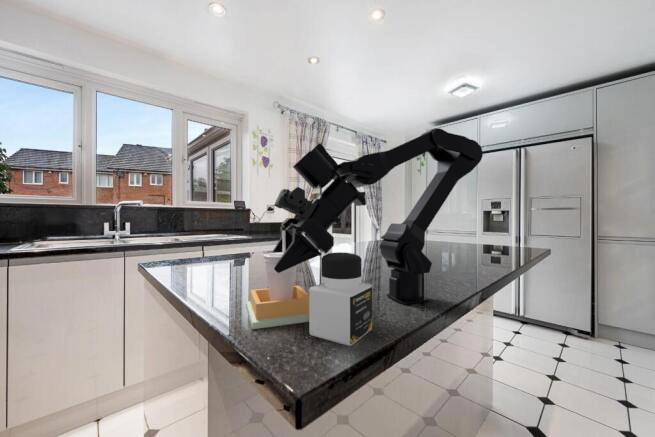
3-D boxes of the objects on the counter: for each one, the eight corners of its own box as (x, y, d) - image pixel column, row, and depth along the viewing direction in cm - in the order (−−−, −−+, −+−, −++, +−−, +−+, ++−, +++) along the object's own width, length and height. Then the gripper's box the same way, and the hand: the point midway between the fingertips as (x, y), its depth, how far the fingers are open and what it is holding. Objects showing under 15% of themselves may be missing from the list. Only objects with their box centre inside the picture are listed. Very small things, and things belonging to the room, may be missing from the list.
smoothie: (300, 311, 49) (300, 231, 49) (262, 314, 48) (262, 231, 48) (297, 301, 56) (297, 229, 56) (263, 302, 55) (263, 229, 55)
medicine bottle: (351, 347, 38) (350, 258, 38) (308, 335, 42) (308, 254, 42) (372, 329, 44) (372, 252, 44) (333, 320, 48) (333, 249, 48)
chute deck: (340, 296, 63) (340, 280, 63) (366, 313, 51) (366, 294, 51) (246, 306, 56) (246, 288, 56) (252, 329, 44) (252, 306, 44)
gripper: (291, 181, 62) (238, 232, 58) (314, 166, 44) (240, 239, 41) (325, 217, 64) (276, 268, 61) (360, 217, 47) (294, 290, 43)
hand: (272, 266), depth 51 cm, fingers open, 9 cm apart
